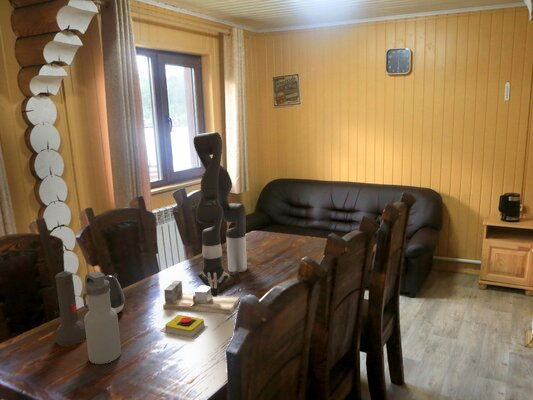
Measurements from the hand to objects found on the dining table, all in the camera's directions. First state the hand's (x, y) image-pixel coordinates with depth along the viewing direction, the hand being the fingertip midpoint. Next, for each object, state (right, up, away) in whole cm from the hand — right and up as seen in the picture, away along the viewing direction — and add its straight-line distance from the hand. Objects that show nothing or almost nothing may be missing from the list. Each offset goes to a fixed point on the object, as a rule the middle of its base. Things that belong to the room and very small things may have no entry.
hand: (215, 295), depth 174 cm
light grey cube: (-5, -2, +1) cm, 5 cm away
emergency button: (-9, -9, -18) cm, 22 cm away
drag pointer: (-8, -2, 0) cm, 8 cm away
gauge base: (-6, -4, +2) cm, 7 cm away
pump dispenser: (-40, -6, -2) cm, 41 cm away
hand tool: (+3, 0, +21) cm, 21 cm away
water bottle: (-31, -12, -34) cm, 48 cm away
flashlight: (-47, -10, -23) cm, 53 cm away
